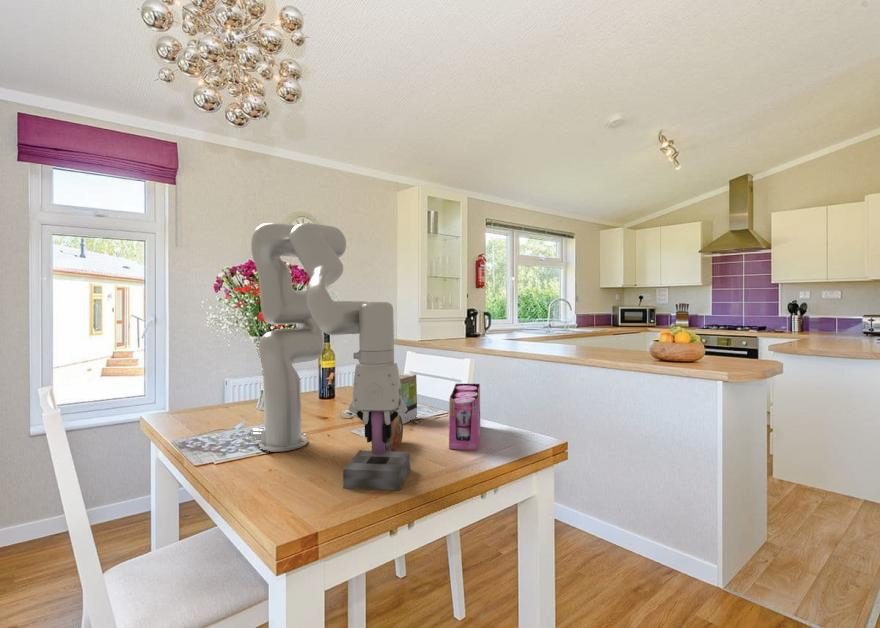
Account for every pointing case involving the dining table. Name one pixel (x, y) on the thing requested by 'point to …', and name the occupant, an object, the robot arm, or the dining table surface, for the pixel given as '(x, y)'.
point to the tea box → (408, 396)
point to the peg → (377, 432)
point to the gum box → (464, 417)
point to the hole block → (377, 470)
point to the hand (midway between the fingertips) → (378, 440)
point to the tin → (395, 435)
